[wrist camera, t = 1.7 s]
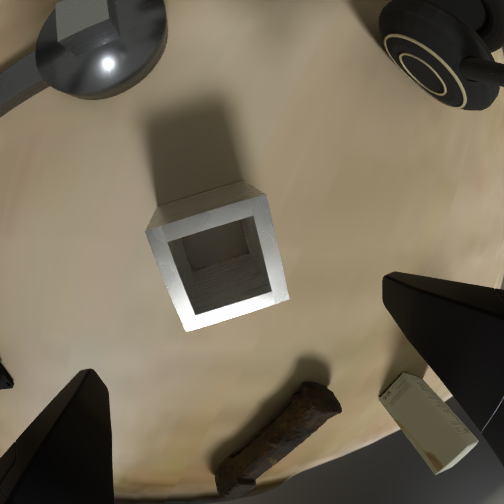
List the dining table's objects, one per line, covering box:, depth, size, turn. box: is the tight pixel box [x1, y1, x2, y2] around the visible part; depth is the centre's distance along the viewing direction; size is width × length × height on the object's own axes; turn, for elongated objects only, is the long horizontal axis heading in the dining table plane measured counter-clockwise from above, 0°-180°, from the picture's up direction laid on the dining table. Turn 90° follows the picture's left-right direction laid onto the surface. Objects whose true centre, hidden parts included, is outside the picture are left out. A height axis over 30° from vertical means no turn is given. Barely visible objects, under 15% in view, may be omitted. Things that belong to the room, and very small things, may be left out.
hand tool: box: [215, 382, 342, 500], centre depth 23 cm, size 19×4×5 cm, turn 144°
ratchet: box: [0, 0, 168, 117], centre depth 8 cm, size 18×7×5 cm, turn 104°
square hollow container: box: [145, 181, 289, 332], centre depth 14 cm, size 5×5×5 cm
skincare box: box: [379, 373, 479, 475], centre depth 22 cm, size 6×4×12 cm
